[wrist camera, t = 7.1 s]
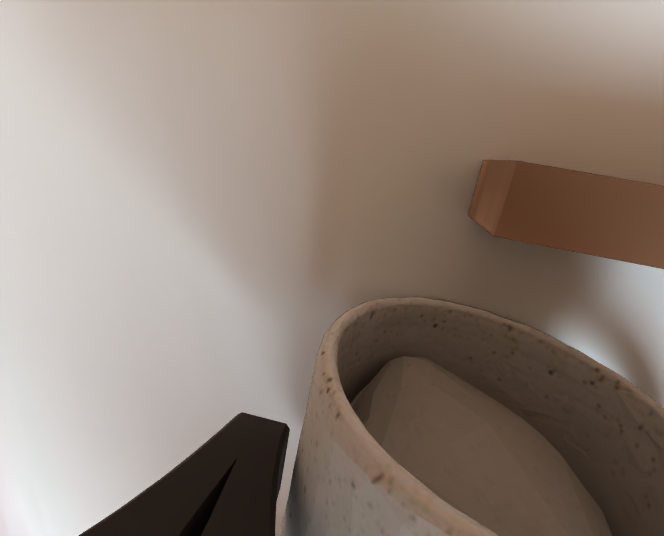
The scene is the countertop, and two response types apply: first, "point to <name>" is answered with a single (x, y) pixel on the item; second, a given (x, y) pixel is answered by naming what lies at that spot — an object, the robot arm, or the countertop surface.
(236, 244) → the countertop surface
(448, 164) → the countertop surface
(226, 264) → the countertop surface
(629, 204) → the brown wooden tray
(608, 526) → the ceramic mug
